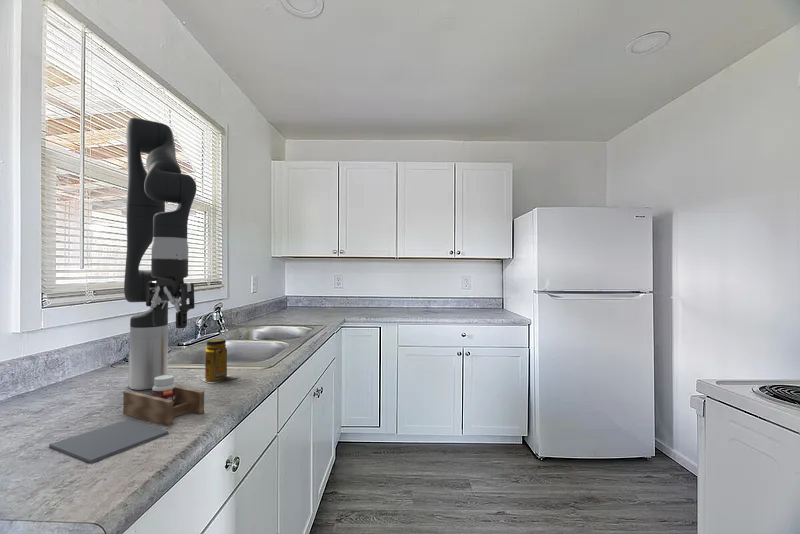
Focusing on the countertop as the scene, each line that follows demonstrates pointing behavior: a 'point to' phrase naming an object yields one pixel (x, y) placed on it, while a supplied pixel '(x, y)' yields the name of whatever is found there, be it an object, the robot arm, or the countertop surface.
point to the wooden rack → (163, 405)
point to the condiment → (216, 362)
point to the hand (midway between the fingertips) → (169, 326)
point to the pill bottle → (164, 388)
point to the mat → (107, 440)
